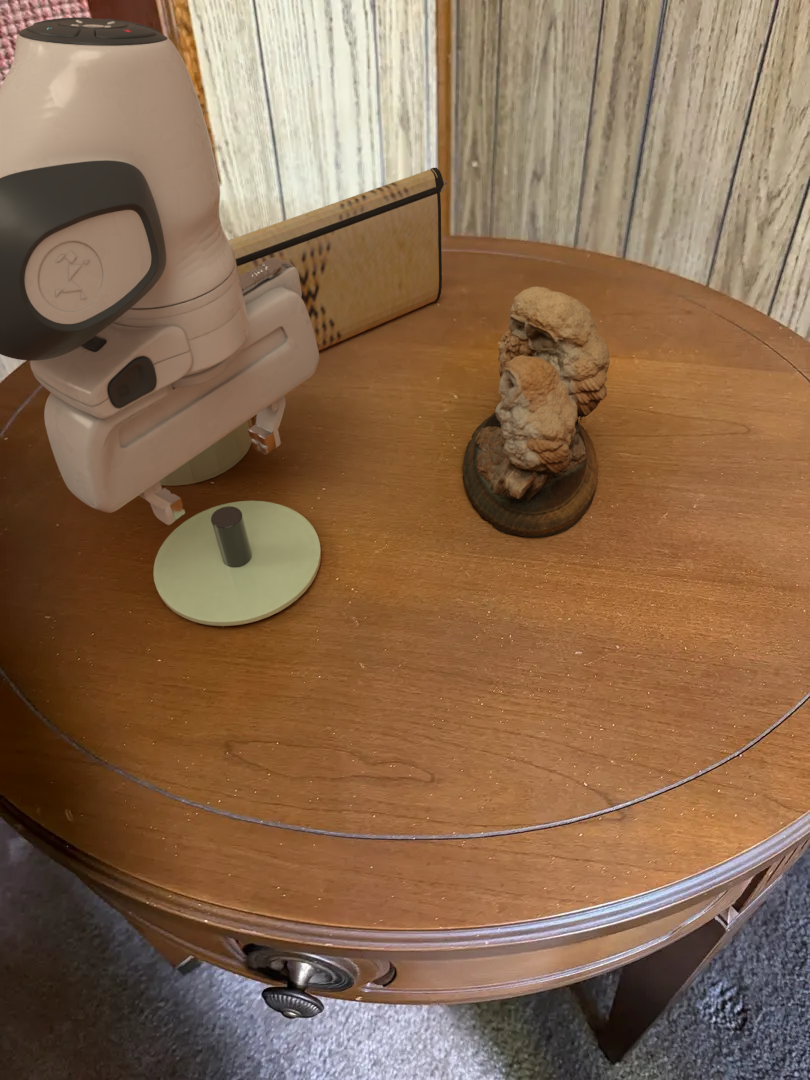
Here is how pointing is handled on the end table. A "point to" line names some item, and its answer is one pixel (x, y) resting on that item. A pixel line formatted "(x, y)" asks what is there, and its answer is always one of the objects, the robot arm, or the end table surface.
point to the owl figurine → (540, 419)
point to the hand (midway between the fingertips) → (220, 480)
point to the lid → (237, 563)
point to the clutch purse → (359, 255)
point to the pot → (213, 458)
